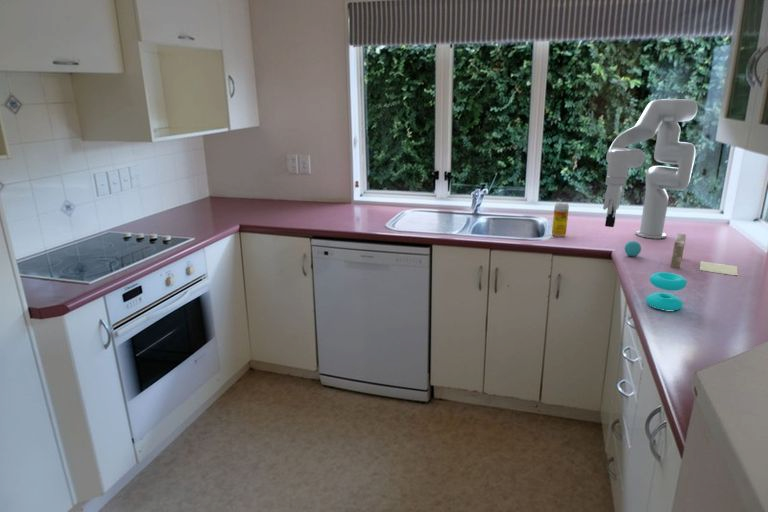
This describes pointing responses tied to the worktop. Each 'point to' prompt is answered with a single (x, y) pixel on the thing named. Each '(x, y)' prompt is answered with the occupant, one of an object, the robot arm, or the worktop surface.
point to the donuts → (666, 283)
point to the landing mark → (718, 268)
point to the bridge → (678, 250)
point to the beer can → (560, 219)
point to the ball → (632, 248)
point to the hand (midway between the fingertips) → (609, 226)
